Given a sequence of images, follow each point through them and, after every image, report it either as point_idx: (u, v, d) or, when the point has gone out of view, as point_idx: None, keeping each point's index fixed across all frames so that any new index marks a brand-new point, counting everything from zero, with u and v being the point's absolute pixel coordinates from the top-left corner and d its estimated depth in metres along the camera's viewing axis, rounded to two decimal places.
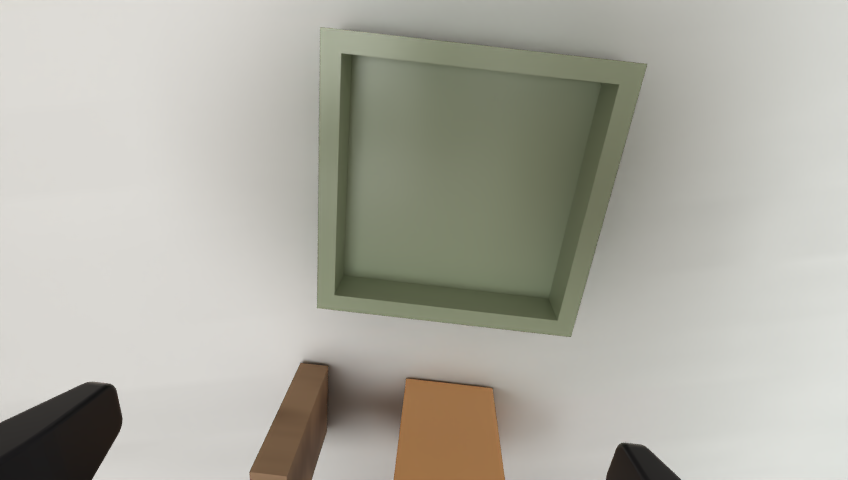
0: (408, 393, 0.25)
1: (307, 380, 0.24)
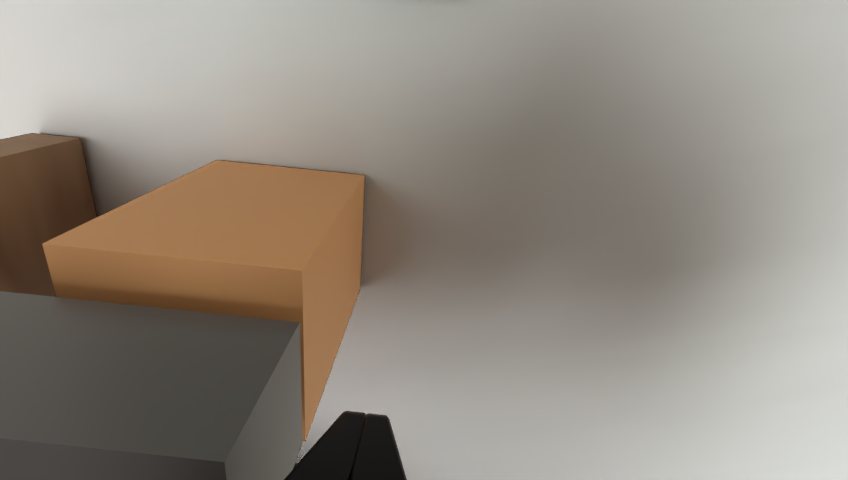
0: (205, 169, 0.14)
1: (19, 143, 0.14)
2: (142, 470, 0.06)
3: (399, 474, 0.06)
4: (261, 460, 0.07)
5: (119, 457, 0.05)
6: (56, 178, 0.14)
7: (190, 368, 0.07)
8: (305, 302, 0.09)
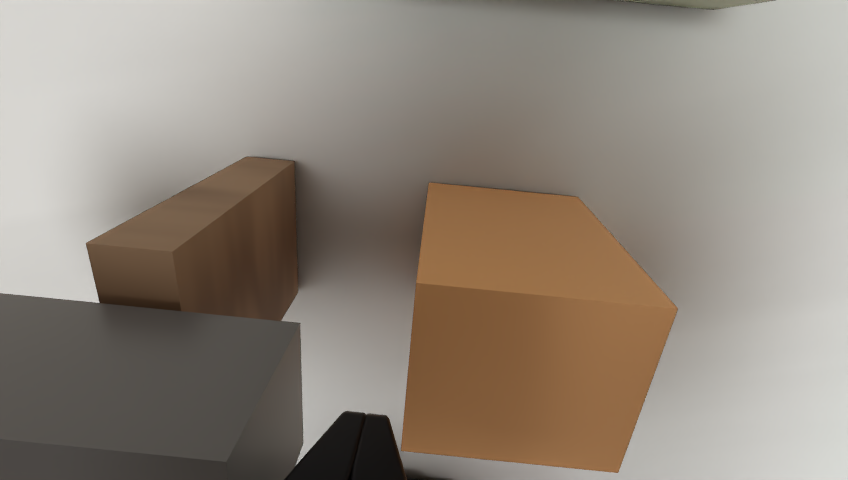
0: (434, 193, 0.14)
1: (254, 168, 0.14)
2: (144, 470, 0.06)
3: (399, 474, 0.06)
4: (263, 461, 0.07)
5: (121, 457, 0.05)
6: (282, 203, 0.14)
7: (191, 369, 0.07)
8: (661, 339, 0.09)
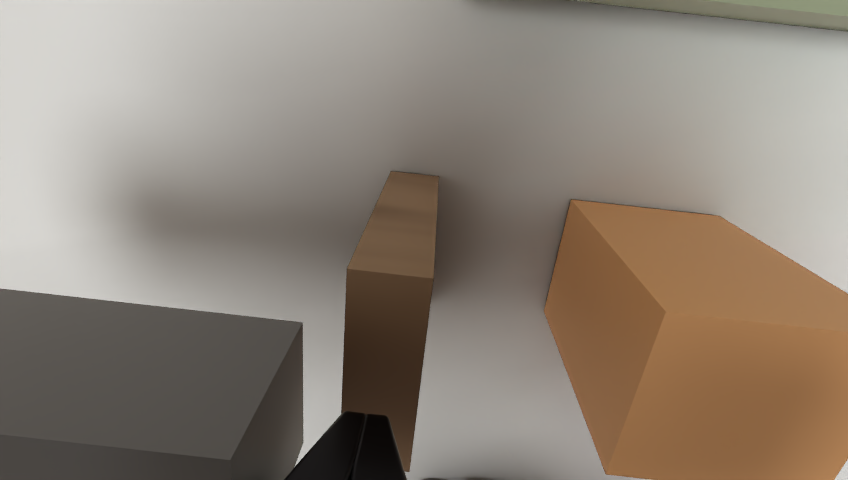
0: (588, 212, 0.14)
1: (411, 185, 0.14)
2: (148, 467, 0.06)
3: (399, 474, 0.06)
4: (264, 460, 0.07)
5: (125, 455, 0.05)
6: None
7: (194, 367, 0.07)
8: None
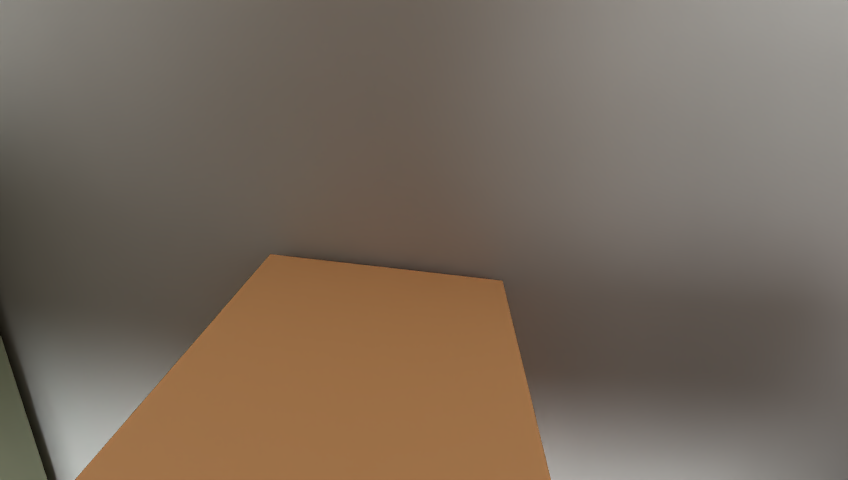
0: None
1: None
2: None
3: None
4: None
5: None
6: None
7: None
8: None
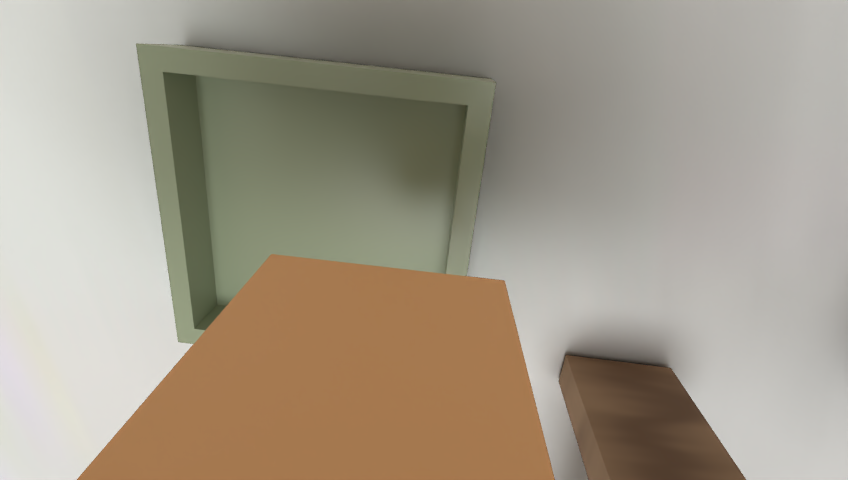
0: None
1: (568, 387, 0.20)
2: None
3: None
4: None
5: None
6: (595, 375, 0.20)
7: None
8: None
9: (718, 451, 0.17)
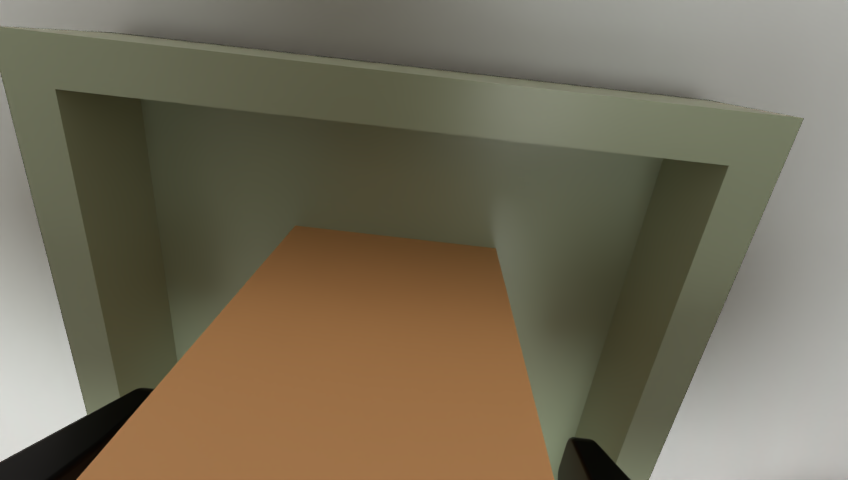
0: None
1: None
2: None
3: None
4: None
5: None
6: None
7: None
8: None
9: None
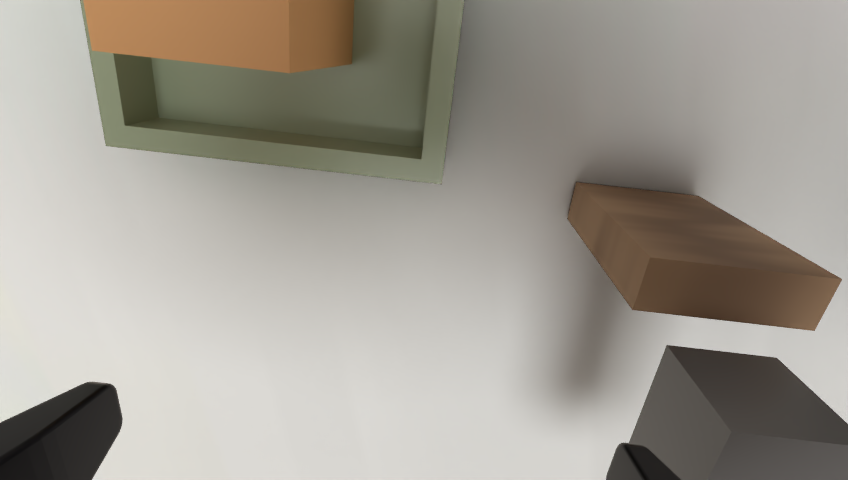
0: None
1: (580, 211, 0.17)
2: (727, 469, 0.10)
3: None
4: (756, 403, 0.10)
5: (714, 476, 0.10)
6: (612, 194, 0.17)
7: (678, 420, 0.11)
8: None
9: (769, 242, 0.14)
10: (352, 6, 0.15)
